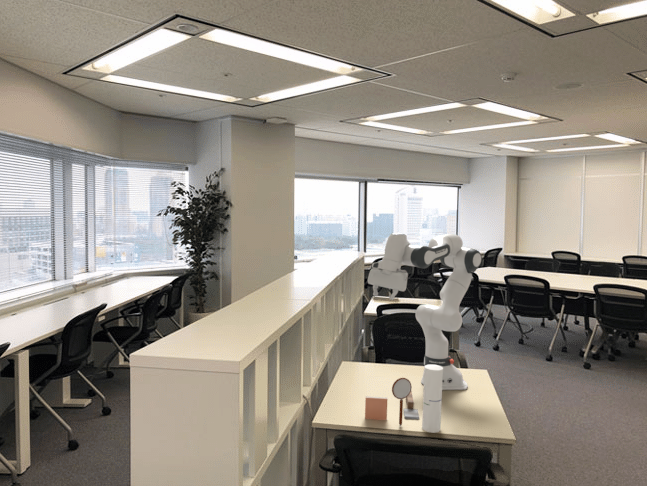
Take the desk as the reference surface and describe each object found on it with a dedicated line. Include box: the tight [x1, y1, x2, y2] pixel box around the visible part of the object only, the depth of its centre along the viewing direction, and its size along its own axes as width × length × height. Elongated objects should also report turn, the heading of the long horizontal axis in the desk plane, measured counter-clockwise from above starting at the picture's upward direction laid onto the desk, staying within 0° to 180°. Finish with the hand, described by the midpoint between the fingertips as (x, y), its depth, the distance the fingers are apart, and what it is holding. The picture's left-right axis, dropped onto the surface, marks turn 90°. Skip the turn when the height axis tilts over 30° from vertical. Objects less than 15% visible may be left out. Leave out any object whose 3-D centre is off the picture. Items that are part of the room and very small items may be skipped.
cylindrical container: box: [421, 364, 443, 433], centre depth 198 cm, size 7×7×25 cm
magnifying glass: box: [391, 377, 412, 427], centre depth 200 cm, size 9×2×20 cm, turn 110°
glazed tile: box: [364, 395, 388, 421], centre depth 207 cm, size 9×2×9 cm, turn 84°
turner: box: [403, 390, 420, 420], centre depth 219 cm, size 22×6×4 cm, turn 174°
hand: (383, 297), depth 223 cm, fingers open, 8 cm apart
